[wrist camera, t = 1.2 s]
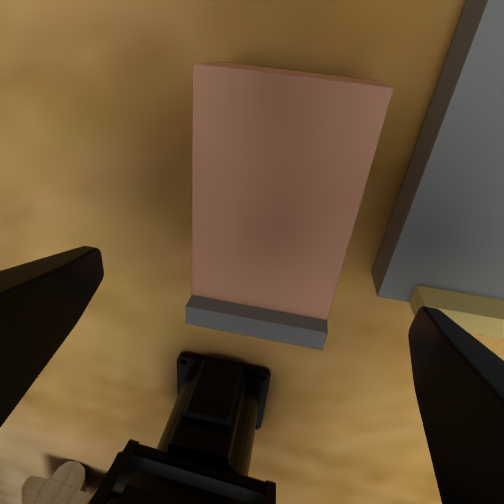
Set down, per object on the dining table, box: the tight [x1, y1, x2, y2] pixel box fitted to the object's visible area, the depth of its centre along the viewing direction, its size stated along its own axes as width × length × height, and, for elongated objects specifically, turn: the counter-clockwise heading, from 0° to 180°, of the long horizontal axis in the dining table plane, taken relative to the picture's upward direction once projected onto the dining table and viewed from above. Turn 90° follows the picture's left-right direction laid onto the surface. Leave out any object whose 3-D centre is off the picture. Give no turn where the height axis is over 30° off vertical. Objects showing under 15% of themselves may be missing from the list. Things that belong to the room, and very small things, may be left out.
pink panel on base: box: [186, 62, 393, 350], centre depth 14 cm, size 10×6×5 cm, turn 174°
